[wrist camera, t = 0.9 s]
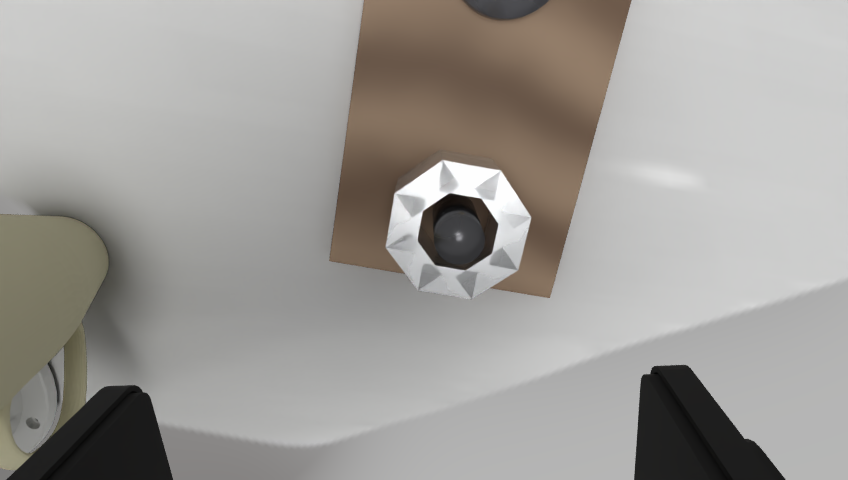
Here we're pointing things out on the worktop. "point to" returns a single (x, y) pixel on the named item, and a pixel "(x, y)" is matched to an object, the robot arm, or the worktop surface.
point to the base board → (475, 116)
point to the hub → (504, 8)
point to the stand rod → (457, 229)
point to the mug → (44, 310)
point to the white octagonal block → (500, 234)
